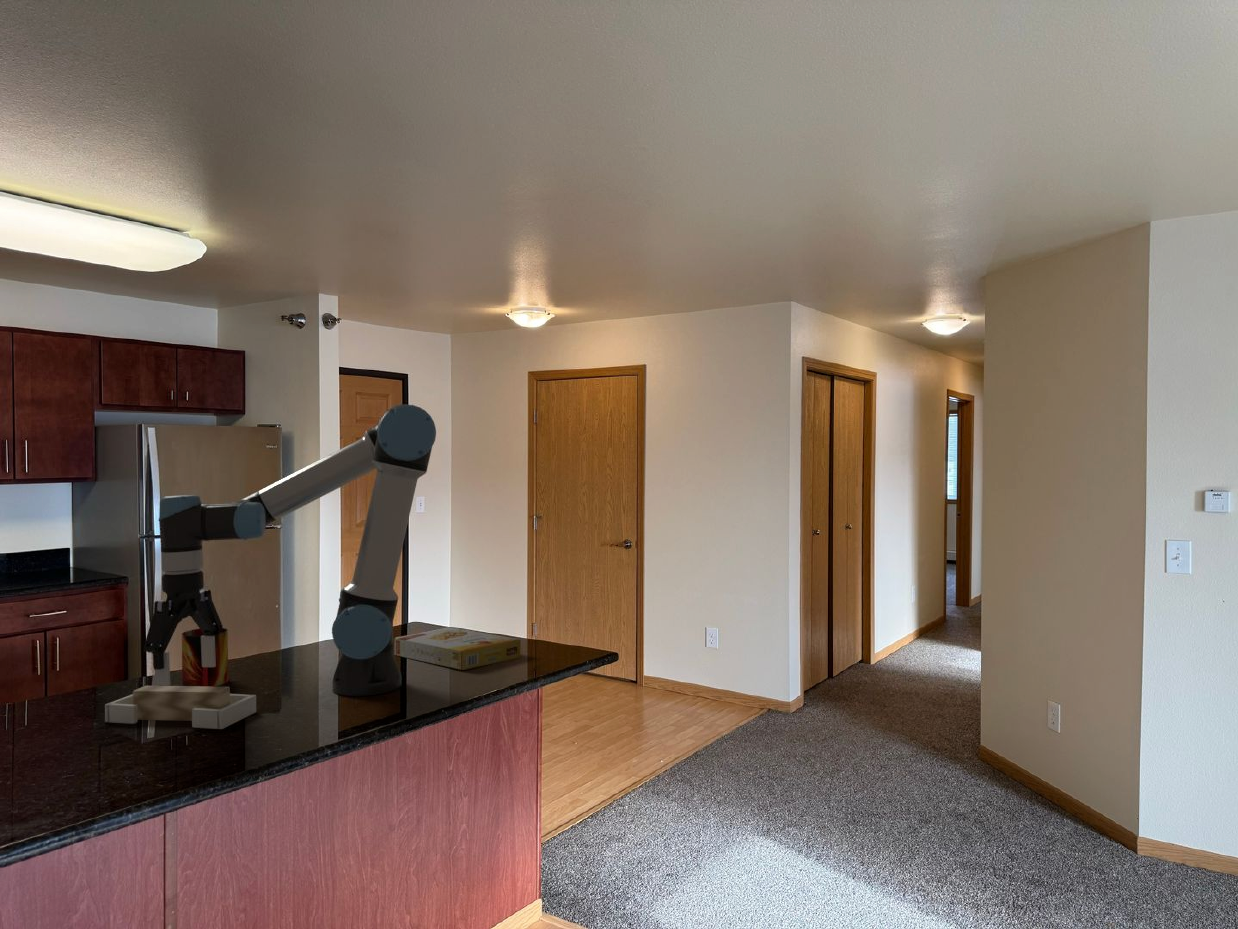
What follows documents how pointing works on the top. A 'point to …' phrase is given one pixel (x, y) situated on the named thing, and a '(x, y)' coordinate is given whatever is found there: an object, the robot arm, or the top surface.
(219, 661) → the mug
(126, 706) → the endcap far
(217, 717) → the tray
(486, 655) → the cereal box
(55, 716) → the top surface
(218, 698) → the wooden block
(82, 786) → the top surface
